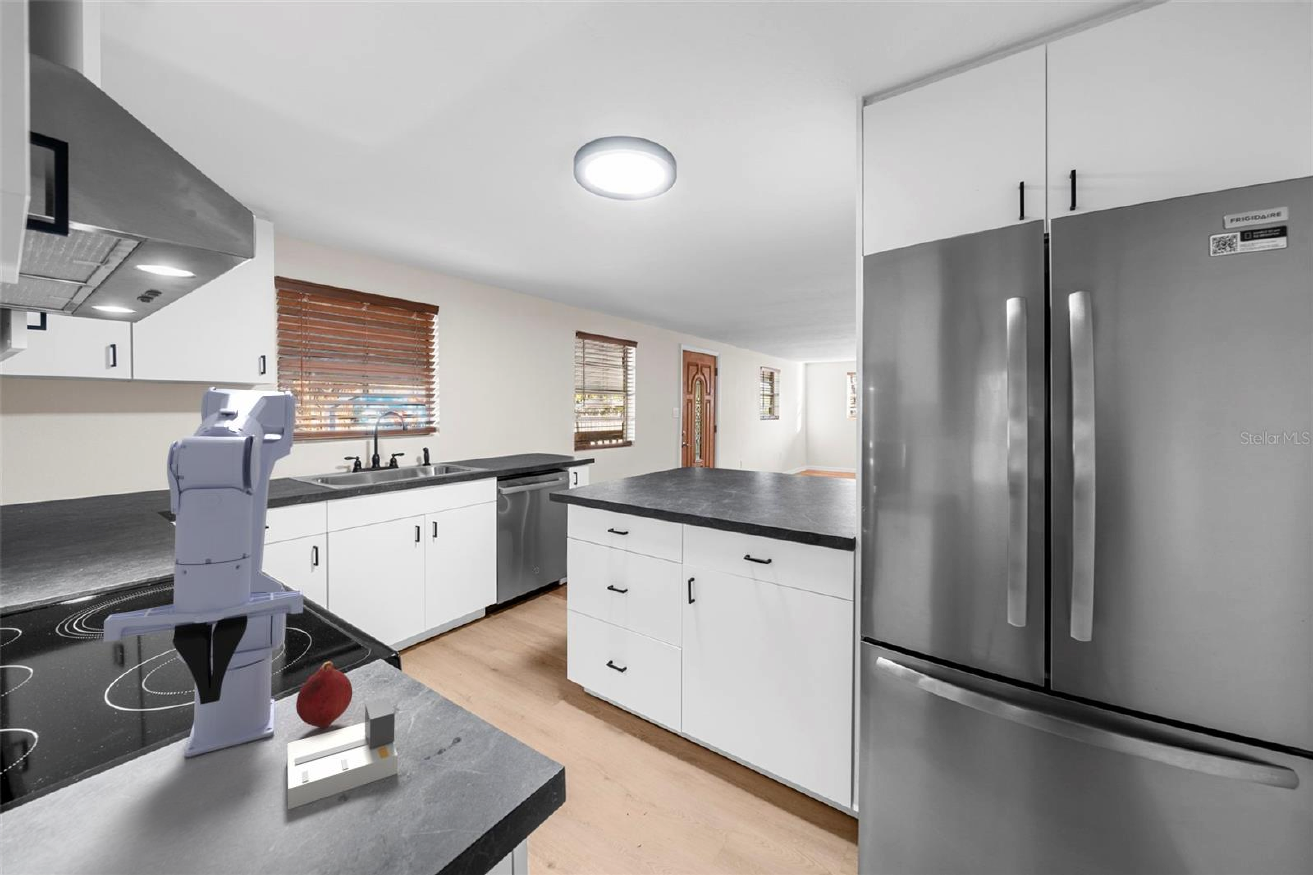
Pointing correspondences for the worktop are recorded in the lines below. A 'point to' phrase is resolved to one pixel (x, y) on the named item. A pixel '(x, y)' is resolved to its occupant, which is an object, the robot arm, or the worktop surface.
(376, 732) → the fader knob
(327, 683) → the onion
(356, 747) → the console
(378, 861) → the worktop surface
